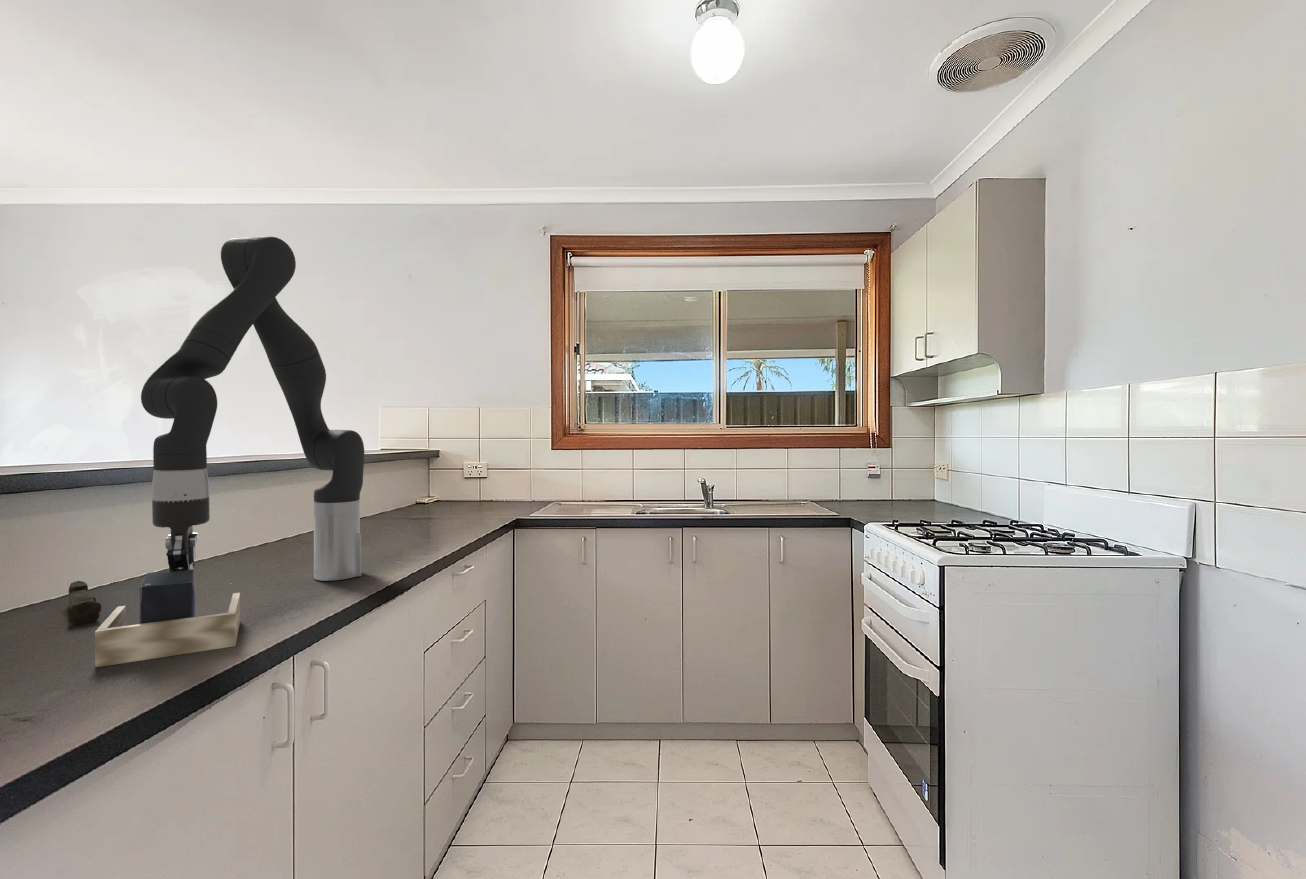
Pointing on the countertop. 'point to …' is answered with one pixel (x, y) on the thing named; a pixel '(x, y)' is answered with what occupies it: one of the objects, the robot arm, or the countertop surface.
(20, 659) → the countertop surface
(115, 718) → the countertop surface
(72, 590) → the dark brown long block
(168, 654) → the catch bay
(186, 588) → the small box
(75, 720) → the countertop surface
